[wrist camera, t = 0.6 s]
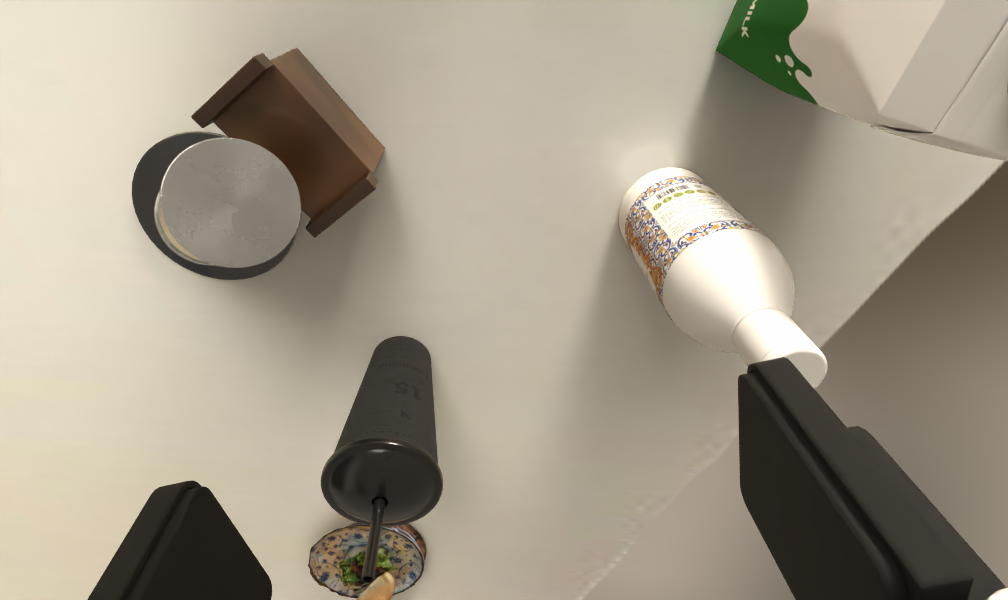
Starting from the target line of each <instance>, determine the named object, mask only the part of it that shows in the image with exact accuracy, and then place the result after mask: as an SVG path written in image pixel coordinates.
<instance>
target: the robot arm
mask: <svg viewBox="0 0 1008 600" xmlns="http://www.w3.org/2000/svg"><path fill="white" fill-rule="evenodd" d="M738 403H739V451H740V452H739V453H740V487H741V492H742V496H743V499H744V501H745V504H746V506H747V508H748V510H749V512H750V514H751V516H752V518H753V520H754V522H755V524H756V525H757V527H758V529H759V531H760V533H761V535H762V537H763V539H764V541H765V542H766V544H767V546H768V548H769V550H770V552H771V554H772V556H773V558H774V559H775V561H776V563H777V565H778V567H779V569H780V571H781V573H782V575H783V577H784V578H785V580H786V582H787V584H788V586H789V588H790V590H791V592H792V593H793V595H794V597H795V599H796V600H1008V588H1006V587H1005V586H1004V584H1003V583H1002V582H1001V581H1000V580H999V579H998V578H997V577H996V575H995V574H994V573H993V572H992V571H991V570H990V568H989V567H988V566H987V565H986V564H985V563H984V562H983V560H982V559H981V558H980V557H979V556H978V555H977V554H976V553H975V551H974V550H973V549H972V548H971V547H970V546H969V545H968V544H967V542H966V541H965V540H964V539H963V538H962V537H961V536H960V535H959V533H958V532H957V531H956V530H955V529H954V528H953V527H952V526H951V524H950V523H949V522H948V521H947V520H946V519H945V518H944V516H943V515H942V514H941V513H940V512H939V511H938V510H937V508H936V507H935V506H934V505H933V504H932V503H931V502H930V501H929V499H928V498H927V497H926V496H925V495H924V494H923V493H922V491H921V490H920V489H919V488H918V487H917V486H916V485H915V484H914V483H913V481H912V480H911V479H910V478H909V477H908V476H907V474H906V473H905V472H904V471H903V470H902V469H901V468H900V467H899V465H898V464H897V463H896V462H895V461H894V460H893V459H892V457H890V455H889V454H888V453H887V452H886V451H885V450H884V448H883V447H882V446H881V445H880V444H879V443H878V442H877V441H876V439H875V438H874V437H873V436H872V435H871V434H870V433H868V432H867V431H866V430H865V429H863V428H861V427H859V426H856V427H849V428H847V427H846V426H845V425H844V424H843V423H842V421H841V420H840V419H839V418H838V417H837V415H836V414H835V413H834V412H833V411H832V410H831V408H830V407H829V406H828V405H827V404H826V402H825V401H824V400H823V399H822V398H821V397H820V395H819V394H818V393H817V392H816V391H815V389H814V388H813V387H812V386H811V385H810V383H809V382H808V381H807V380H806V379H805V377H804V376H803V375H802V374H801V373H800V372H799V370H798V369H797V368H796V367H795V366H794V364H793V363H792V362H791V361H790V360H789V359H788V358H785V357H781V358H776V359H771V360H767V361H762V362H757V363H752V364H750V365H749V366H748V371H747V374H743V375H740V376H739V378H738ZM271 597H272V584H271V580H270V578H269V576H268V575H267V573H266V572H265V570H264V569H263V567H262V566H261V564H260V563H259V561H258V560H257V558H256V557H255V556H254V554H253V553H252V551H251V550H250V548H249V547H248V545H247V544H246V542H245V541H244V539H243V538H242V536H241V535H240V533H239V532H238V530H237V529H236V528H235V526H234V525H233V523H232V522H231V520H230V519H229V517H228V516H227V514H226V513H225V511H224V510H223V508H222V507H221V505H220V504H219V502H218V501H217V500H216V498H215V497H214V495H213V494H212V492H211V491H210V490H209V489H208V488H207V487H202V486H201V485H200V484H199V483H198V482H195V481H186V482H182V483H177V484H172V485H167V486H162V487H159V488H157V489H156V490H155V491H154V492H153V493H152V494H151V496H150V497H149V499H148V501H147V502H146V504H145V506H144V507H143V509H142V511H141V512H140V514H139V516H138V517H137V519H136V520H135V522H134V524H133V525H132V527H131V529H130V530H129V532H128V534H127V535H126V537H125V539H124V540H123V542H122V544H121V545H120V547H119V549H118V550H117V552H116V553H115V555H114V557H113V558H112V560H111V562H110V563H109V565H108V567H107V568H106V570H105V572H104V573H103V575H102V577H101V578H100V580H99V582H98V583H97V585H96V586H95V588H94V590H93V591H92V593H91V595H90V596H89V598H88V600H271Z"/></svg>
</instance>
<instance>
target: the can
mask: <svg viewBox="0 0 1008 600" xmlns="http://www.w3.org/2000/svg"><path fill="white" fill-rule="evenodd" d="M300 216H301V199H300V194H299V190H298V187H297V185H296V182H295V180H294V178H293V176H292V174H291V173H290V171H289V170H288V169H287V167H286V166H285V165H284V164H283V163H282V162H281V160H279V159H278V158H277V157H276V156H275V155H274V154H272V153H271V152H270V151H268V150H267V149H265V148H263V147H261V146H259V145H257V144H255V143H252V142H249V141H246V140H242V139H237V138H225V137H222V138H212V139H208V140H204V141H201V142H198V143H196V144H194V145H192V146H190V147H188V148H186V149H185V150H184V151H182V152H181V153H180V154H179V155H178V156H177V157H176V158H175V159H174V160H173V161H172V163H171V164H170V165H169V167H168V169H167V170H166V172H165V174H164V177H163V180H162V183H161V188H160V191H159V193H158V195H157V198H156V201H155V207H154V217H155V223H156V227H157V229H158V232H159V234H160V236H161V237H162V239H163V241H164V242H165V243H166V244H167V246H168V247H169V248H171V249H172V250H173V251H174V252H175V253H176V254H178V255H179V256H181V257H183V258H184V259H187V260H189V261H191V262H194V263H198V264H203V265H213V266H215V265H217V266H222V267H229V268H242V267H250V266H255V265H258V264H261V263H264V262H266V261H268V260H270V259H272V258H273V257H275V256H276V255H278V254H279V253H280V252H281V251H282V250H284V249H285V247H286V246H287V245H288V244H289V243H290V241H291V240H292V238H293V237H294V235H295V233H296V231H297V228H298V225H299V222H300Z"/></svg>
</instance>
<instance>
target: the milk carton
mask: <svg viewBox="0 0 1008 600" xmlns="http://www.w3.org/2000/svg"><path fill="white" fill-rule="evenodd" d="M716 51H717V52H719V53H721V54H722V55H724V56H726V57H727V58H729V59H730V60H732V61H733V62H735V63H737V64H738V65H740V66H741V67H743V68H745V69H746V70H748V71H749V72H751V73H753V74H754V75H756V76H757V77H759V78H760V79H762V80H763V81H765V82H767V83H768V84H770V85H772V86H773V87H776V88H778V89H780V90H782V91H784V92H786V93H788V94H791V95H793V96H796V97H798V98H801V99H803V100H806V101H808V102H811V103H813V104H816V105H818V106H821V107H823V108H826V109H828V110H831V111H833V112H836V113H838V114H841V115H843V116H846V117H848V118H851V119H854V120H857V121H860V122H863V123H866V124H869V125H871V126H870V127H872V128H875V129H878V130H882V131H885V132H888V133H891V134H894V135H898V136H902V137H905V138H909V139H912V140H916V141H920V142H923V143H927V144H931V145H935V146H939V147H943V148H947V149H951V150H955V151H959V152H964V153H969V154H973V155H978V156H983V157H988V158H994V159H999V160H1004V161H1008V0H737V2H736V5H735V7H734V9H733V12H732V14H731V16H730V19H729V21H728V23H727V26H726V28H725V30H724V33H723V35H722V37H721V40H720V42H719V44H718V47H717V49H716ZM875 126H876V127H875Z"/></svg>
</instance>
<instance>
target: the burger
mask: <svg viewBox="0 0 1008 600" xmlns="http://www.w3.org/2000/svg"><path fill="white" fill-rule="evenodd" d="M369 530H370V526H369V525H364V524H360V523H355V524H352V525H350V526H348V527H345V528H341V529H337V530H334V531H332V532H330V533H329V534H327V535H325V536H324V537H322V538H321V539H320V540H319V541H318V542H317V543H316V544H315V545H314V546H313V547H312V548H311V550H310V558H309V565H308V567H309V568H310V574H311V576H312V577H313V578H314V580H315V581H316V582H317V583H318V584H319V585H321V586H324V587H327V588H329V589H330V591H332V592H336V593H338V594H339V595H341V596H345V597H352V598H358V599H357V600H390V599H391V597H392V595H395V594H397V593H401V592H404V591H405V590H407V589H408V588H410V587H412V586H413V585H415V583H416V582H417V581H418V580H419V579H420V577H421V575H422V573H423V571H424V560H425V557H426V546H425V543H424V541H423V539H422V537H421V535H420V534H419V533H418V532H417V531H416V530H415V529H414V528H413V527H412V526H410V525H409V524H404V525H399V526H391V527H382V529H381V536H380V542H379V549H378V556H377V563H376V569H375V576H374V581H373V582H371V583H364V582H363V581H362V580H361V578H362V572H363V566H364V560H365V554H366V548H367V542H368V536H369Z"/></svg>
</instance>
